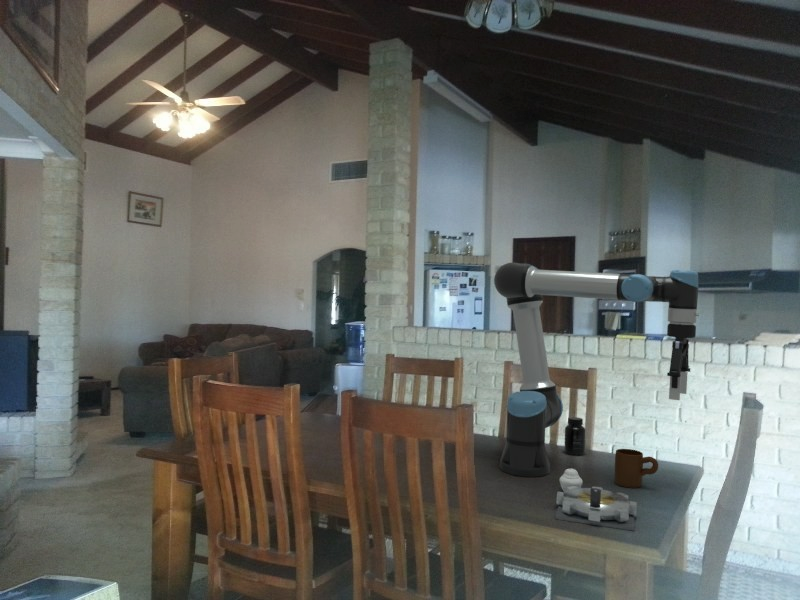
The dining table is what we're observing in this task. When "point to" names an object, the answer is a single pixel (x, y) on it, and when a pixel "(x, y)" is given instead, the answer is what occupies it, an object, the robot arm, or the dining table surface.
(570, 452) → the supplement bottle
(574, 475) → the muffin
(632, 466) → the mug
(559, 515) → the base plate
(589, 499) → the sprocket
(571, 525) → the dining table surface
